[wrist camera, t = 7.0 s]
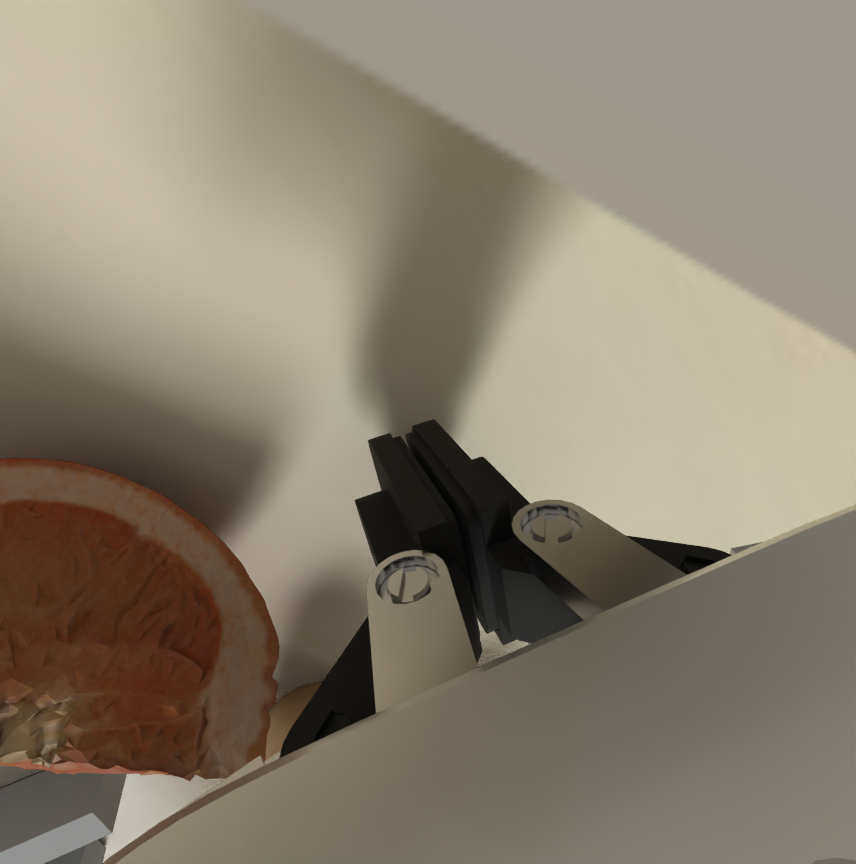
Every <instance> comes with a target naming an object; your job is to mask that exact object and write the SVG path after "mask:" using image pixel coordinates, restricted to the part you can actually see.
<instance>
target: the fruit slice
mask: <svg viewBox="0 0 856 864" xmlns="http://www.w3.org/2000/svg"><path fill="white" fill-rule="evenodd" d="M278 657H279V642H278V637H277V633H276V630H275V628H274V625H273V623H272V620H271V617H270V615H269V612H268V610H267V607H266V603H265V601H264V599H263V597H262V595H261V594H260V592H259V591H258V589H257V588H256V586H255V585H254V583H253V582H252V580H251V579H250V577H249V575H248V574H247V572H246V570H245V568H244V566H243V565H242V563H241V562H240V561H239V560H238V559H237V557H236V556H235V555H234V554H233V553H232V552H231V550H230V549H229V548H228V547H227V546H226V545H225V543H224V542H223V541H222V540H221V539H220V538H219V537H218V536H216V535H215V534H214V533H213V532H212V531H211V530H210V529H208V528H207V527H206V526H205V525H204V524H203V523H202V522H200V521H199V520H197V519H196V518H195V517H193V516H192V515H191V514H189V513H188V512H186V511H185V510H183V509H182V508H180V507H179V506H177V505H176V504H175V503H173V502H172V501H171V500H170V499H168V498H167V497H165V496H163V495H161V494H159V493H158V492H155V491H153V490H151V489H149V488H146V487H144V486H142V485H139V484H137V483H135V482H133V481H130V480H128V479H126V478H124V477H121V476H119V475H116V474H113V473H110V472H107V471H104V470H101V469H98V468H94V467H91V466H87V465H83V464H78V463H73V462H68V461H58V460H46V459H34V458H6V459H0V766H12V767H19V768H22V769H41V770H48V771H52V772H54V773H56V774H63V773H67V774H73V775H74V774H77V773H84V772H86V773H98V774H134V773H139V774H141V775H151V774H164V775H173V776H178V777H181V778H184V779H186V780H188V781H190V780H191V779H192V778H193V777H194V776H195V775H198V776H200V777H202V778H204V779H215V778H223V779H226V778H228V777H229V776H230V775H232V774H233V773H235V772H236V771H238V770H239V769H241V768H242V767H244V766H245V765H247V764H248V763H250V762H251V761H253V760H254V759H255V758H257V757H258V756H261V757H262V759H263V761H264V762H265V760H266V744H267V734H268V731H269V728H270V715H269V713H268V711H267V710H268V709H269V708H270V707H271V706H272V705H273V704H275V700H276V693H277V686H278V683H277V682H276V681H275V680H274V679H273V678H272V674H273V672H274V670H275V668H276V665H277V661H278Z"/></svg>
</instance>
